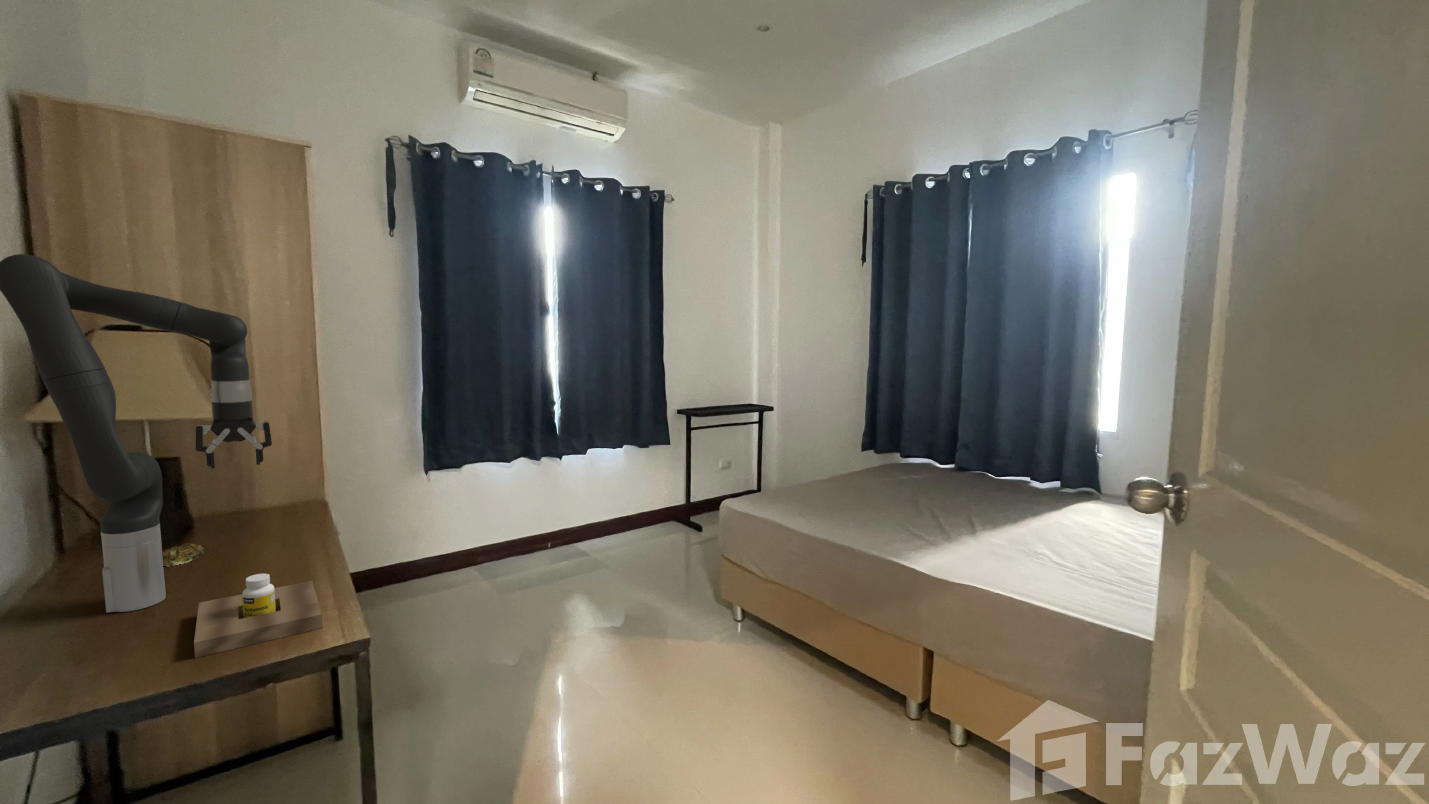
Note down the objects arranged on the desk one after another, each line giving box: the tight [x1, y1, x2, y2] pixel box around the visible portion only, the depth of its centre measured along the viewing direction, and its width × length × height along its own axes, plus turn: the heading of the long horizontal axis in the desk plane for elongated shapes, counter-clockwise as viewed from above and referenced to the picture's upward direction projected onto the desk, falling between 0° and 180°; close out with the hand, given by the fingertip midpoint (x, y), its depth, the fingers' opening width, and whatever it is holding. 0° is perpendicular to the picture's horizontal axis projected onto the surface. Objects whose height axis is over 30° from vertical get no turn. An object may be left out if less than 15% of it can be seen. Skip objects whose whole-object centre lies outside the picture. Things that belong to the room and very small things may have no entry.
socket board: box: [193, 580, 323, 659], centre depth 127 cm, size 20×20×3 cm
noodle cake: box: [162, 543, 205, 568], centre depth 159 cm, size 9×5×15 cm
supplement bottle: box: [242, 573, 276, 618], centre depth 126 cm, size 5×5×10 cm
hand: (236, 466), depth 146 cm, fingers open, 8 cm apart
